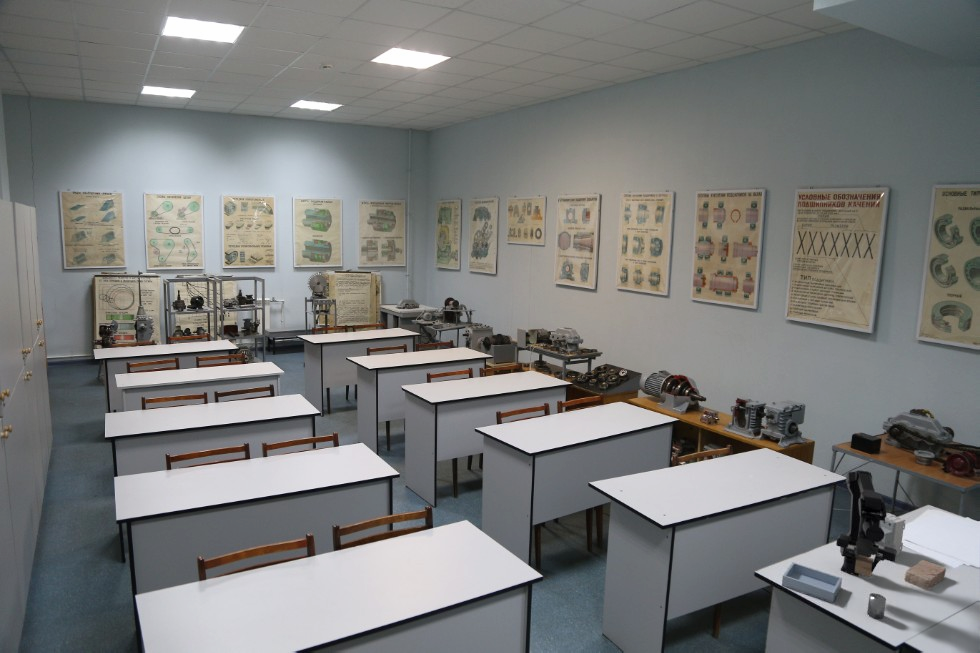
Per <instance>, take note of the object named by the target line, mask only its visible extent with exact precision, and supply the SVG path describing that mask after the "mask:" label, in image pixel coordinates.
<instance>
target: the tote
mask: <svg viewBox="0 0 980 653" xmlns="http://www.w3.org/2000/svg"><path fill="white" fill-rule="evenodd" d="M781 578H782V580H781V586H782V587H785V588H788V589H790V590H794V591H797V592H799V593H802V594H806V595H808V596H811V597H814V598H817V599H820V600H822V599H823V600H822V601H825V602H828V603H830V604H831V603H832V604H834V602H835V600H836V598H837V596H838V595H839V593H840V590H841V589H842V582H843V578H842V577H840V576H837V575H833V574H832V573H827V572H824V571H821V570H818V569H815V568H812V567H808V566H806V565H803V564H800V563H797V562H791V564H790V565H789V566H788V568H787V569H786V571H784V573H783V574H782V577H781ZM837 594H838V595H837Z"/></svg>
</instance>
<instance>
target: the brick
mask: <svg viewBox="0 0 980 653" xmlns="http://www.w3.org/2000/svg"><path fill="white" fill-rule="evenodd" d="M946 572H947V569H946V567H943V566H941V565H939V564H937V563H936V564H935V563H933V562H930V561H927V560H924V559H923V560H920V561H919V562H918V563H917V564H915V565H914V566H912V567H909V568H908V569H906V572H905V573H904V574H905V575H904V578H903V579H904V581H905V582H906V583H908V584H911V585H913V586H916V587H917V588H920V589H922V590H927V591H928V590H930V588H932V587H933V586H935V585H936V584H938V583H939V582H941V581H942V580H943V579H944V578H945V577H946V576H945V575H946Z"/></svg>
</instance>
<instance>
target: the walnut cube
mask: <svg viewBox="0 0 980 653" xmlns="http://www.w3.org/2000/svg"><path fill="white" fill-rule="evenodd" d="M873 562H874V558H872V557H866V556H862V555H858V556H857V559H856V565H855V573H859V575H863V576H865V577H871V576H872V574H873V572H871V571H872V565H873Z"/></svg>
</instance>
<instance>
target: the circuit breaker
mask: <svg viewBox="0 0 980 653" xmlns="http://www.w3.org/2000/svg"><path fill="white" fill-rule="evenodd" d="M881 517H882V516H881ZM905 522H906V519H904V518H902V517H900V516H896V515H895V514H891V513H889V512H886V517H885V521H881V520H880V525H881V527H882V529H883V531H884V538H883V539H882V540H881V541H879V542H876V545H878V546H879V548H882V549H884V547H885V546H886V547H890V548H893V549H896V550H897V556H898V555H900V554H902V553H903V552H902V550H903V548H904V547H903V546H904V543H903V536H904V530H906V523H905Z"/></svg>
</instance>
